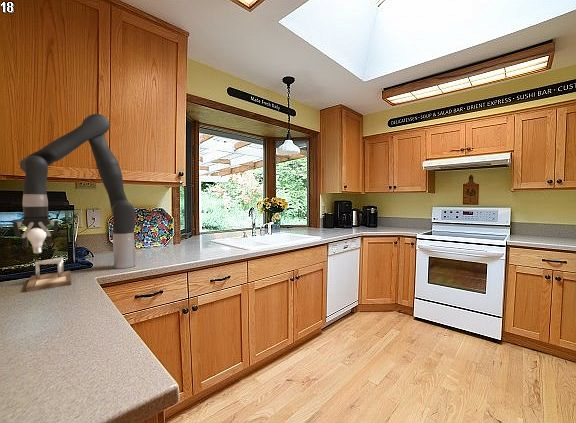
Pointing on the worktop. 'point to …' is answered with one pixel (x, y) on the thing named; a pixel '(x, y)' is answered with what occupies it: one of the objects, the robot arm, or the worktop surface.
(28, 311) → the worktop surface
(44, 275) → the walnut board
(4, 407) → the worktop surface
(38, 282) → the cork pad
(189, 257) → the worktop surface
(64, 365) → the worktop surface
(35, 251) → the lightbulb
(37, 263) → the silver arch frame
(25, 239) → the robot arm
